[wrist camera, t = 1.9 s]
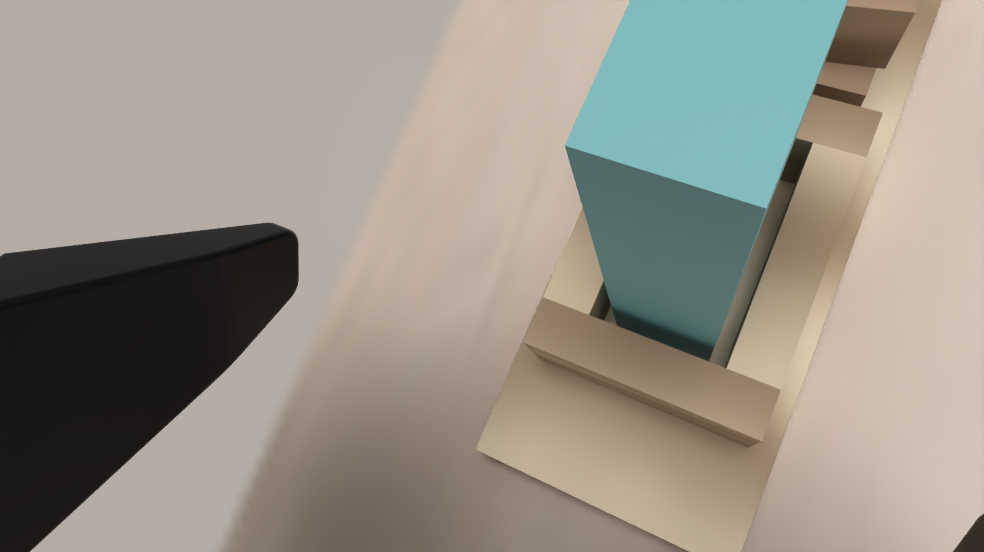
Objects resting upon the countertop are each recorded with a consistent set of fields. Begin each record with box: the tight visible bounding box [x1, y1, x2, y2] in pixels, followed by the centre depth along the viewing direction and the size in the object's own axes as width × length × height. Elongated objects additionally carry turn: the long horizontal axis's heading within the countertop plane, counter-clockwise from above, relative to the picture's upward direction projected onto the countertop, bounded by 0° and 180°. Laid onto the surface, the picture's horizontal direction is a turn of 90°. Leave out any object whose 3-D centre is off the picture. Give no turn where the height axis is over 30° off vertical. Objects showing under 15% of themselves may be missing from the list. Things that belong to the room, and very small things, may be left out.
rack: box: [476, 0, 942, 552], centre depth 19 cm, size 18×7×4 cm, turn 155°
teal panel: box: [565, 0, 848, 362], centre depth 14 cm, size 5×2×11 cm, turn 156°
